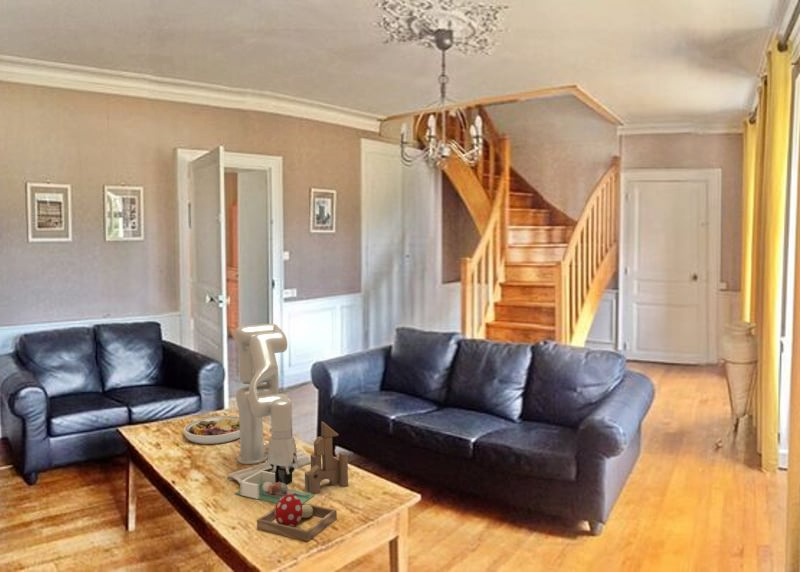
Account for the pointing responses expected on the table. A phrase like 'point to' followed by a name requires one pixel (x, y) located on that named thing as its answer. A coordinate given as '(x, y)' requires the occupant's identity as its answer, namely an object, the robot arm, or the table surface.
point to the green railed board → (275, 498)
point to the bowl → (213, 430)
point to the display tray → (297, 533)
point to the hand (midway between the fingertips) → (283, 481)
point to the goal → (255, 483)
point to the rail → (282, 496)
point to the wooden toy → (326, 463)
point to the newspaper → (267, 467)
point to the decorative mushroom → (291, 510)
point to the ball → (266, 486)
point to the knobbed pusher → (280, 484)
